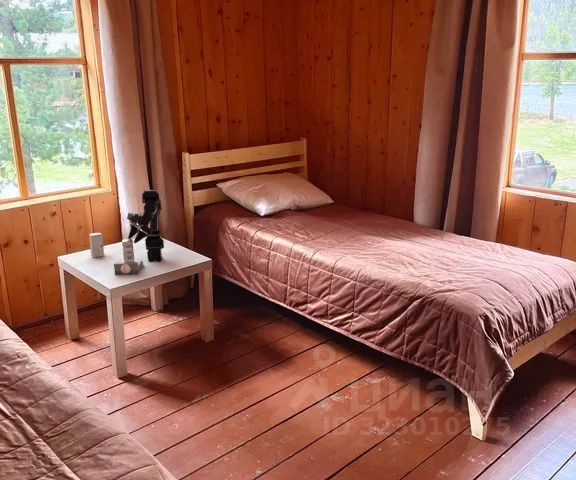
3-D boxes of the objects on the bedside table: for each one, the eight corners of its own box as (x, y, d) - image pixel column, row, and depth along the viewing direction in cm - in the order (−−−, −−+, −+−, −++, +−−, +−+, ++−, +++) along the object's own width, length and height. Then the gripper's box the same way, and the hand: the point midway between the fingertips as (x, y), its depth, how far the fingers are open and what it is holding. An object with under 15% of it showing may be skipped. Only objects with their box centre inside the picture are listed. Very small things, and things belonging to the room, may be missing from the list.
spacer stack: (132, 261, 279) (130, 238, 275) (136, 263, 275) (134, 240, 271) (122, 263, 276) (120, 240, 272) (126, 265, 272) (124, 242, 268)
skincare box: (93, 257, 293) (90, 235, 289) (90, 255, 297) (88, 233, 293) (104, 255, 296) (102, 234, 293) (102, 253, 300) (100, 232, 296)
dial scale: (143, 265, 282) (142, 254, 280) (137, 274, 269) (136, 263, 267) (121, 265, 281) (120, 255, 280) (114, 275, 268) (113, 264, 267)
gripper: (128, 203, 282) (112, 229, 280) (140, 209, 266) (123, 237, 265) (147, 213, 288) (131, 239, 286) (159, 220, 273) (142, 248, 271)
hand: (131, 240), depth 277 cm, fingers open, 9 cm apart
